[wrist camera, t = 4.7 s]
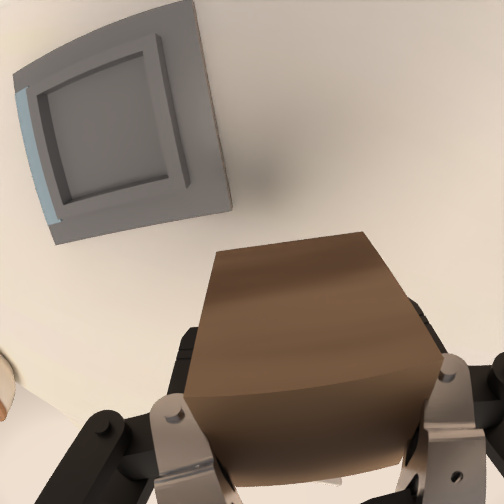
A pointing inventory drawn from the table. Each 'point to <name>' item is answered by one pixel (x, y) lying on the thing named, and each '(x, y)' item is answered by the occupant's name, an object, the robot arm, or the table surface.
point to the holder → (123, 127)
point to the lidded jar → (6, 387)
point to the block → (308, 362)
